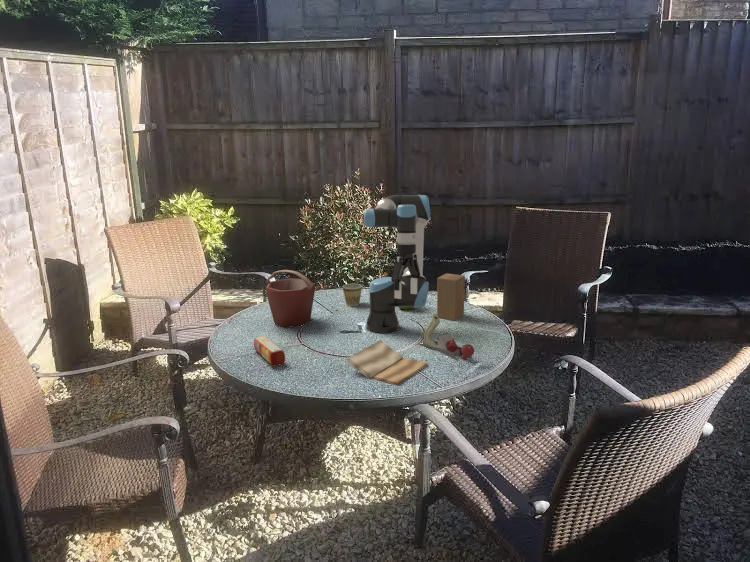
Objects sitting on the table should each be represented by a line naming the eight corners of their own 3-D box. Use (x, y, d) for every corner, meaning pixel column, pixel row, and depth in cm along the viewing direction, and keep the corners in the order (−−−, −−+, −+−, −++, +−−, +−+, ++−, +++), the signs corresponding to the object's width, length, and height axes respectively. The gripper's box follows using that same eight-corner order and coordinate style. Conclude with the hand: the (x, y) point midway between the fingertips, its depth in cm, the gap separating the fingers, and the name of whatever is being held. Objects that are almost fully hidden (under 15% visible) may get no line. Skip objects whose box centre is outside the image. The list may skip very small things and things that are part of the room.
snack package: (253, 351, 267) (252, 336, 265) (268, 348, 270) (267, 333, 269) (270, 368, 249) (269, 352, 248) (286, 364, 252) (285, 348, 251)
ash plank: (346, 361, 240) (348, 357, 240) (378, 343, 258) (380, 340, 257) (372, 381, 236) (373, 377, 235) (403, 362, 253) (404, 358, 252)
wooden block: (464, 315, 308) (465, 275, 303) (455, 320, 300) (456, 280, 295) (445, 311, 313) (446, 273, 308) (436, 317, 305) (437, 277, 300)
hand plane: (430, 340, 276) (430, 308, 272) (478, 363, 251) (479, 327, 247) (417, 344, 272) (417, 311, 268) (465, 367, 247) (465, 331, 243)
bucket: (258, 321, 304) (255, 271, 297) (294, 310, 319) (291, 262, 313) (291, 332, 288) (288, 280, 281) (327, 320, 303) (325, 270, 297)
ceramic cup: (355, 308, 321) (354, 289, 318) (339, 305, 326) (338, 287, 324) (369, 302, 331) (368, 283, 329) (353, 299, 337) (353, 281, 334)
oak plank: (374, 381, 235) (374, 376, 234) (405, 362, 252) (405, 357, 252) (397, 387, 229) (397, 382, 229) (427, 367, 247) (427, 362, 246)
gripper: (399, 246, 239) (399, 301, 242) (428, 241, 260) (428, 292, 263) (382, 245, 243) (382, 299, 246) (412, 241, 264) (412, 291, 267)
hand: (406, 296), depth 254 cm, fingers open, 13 cm apart
